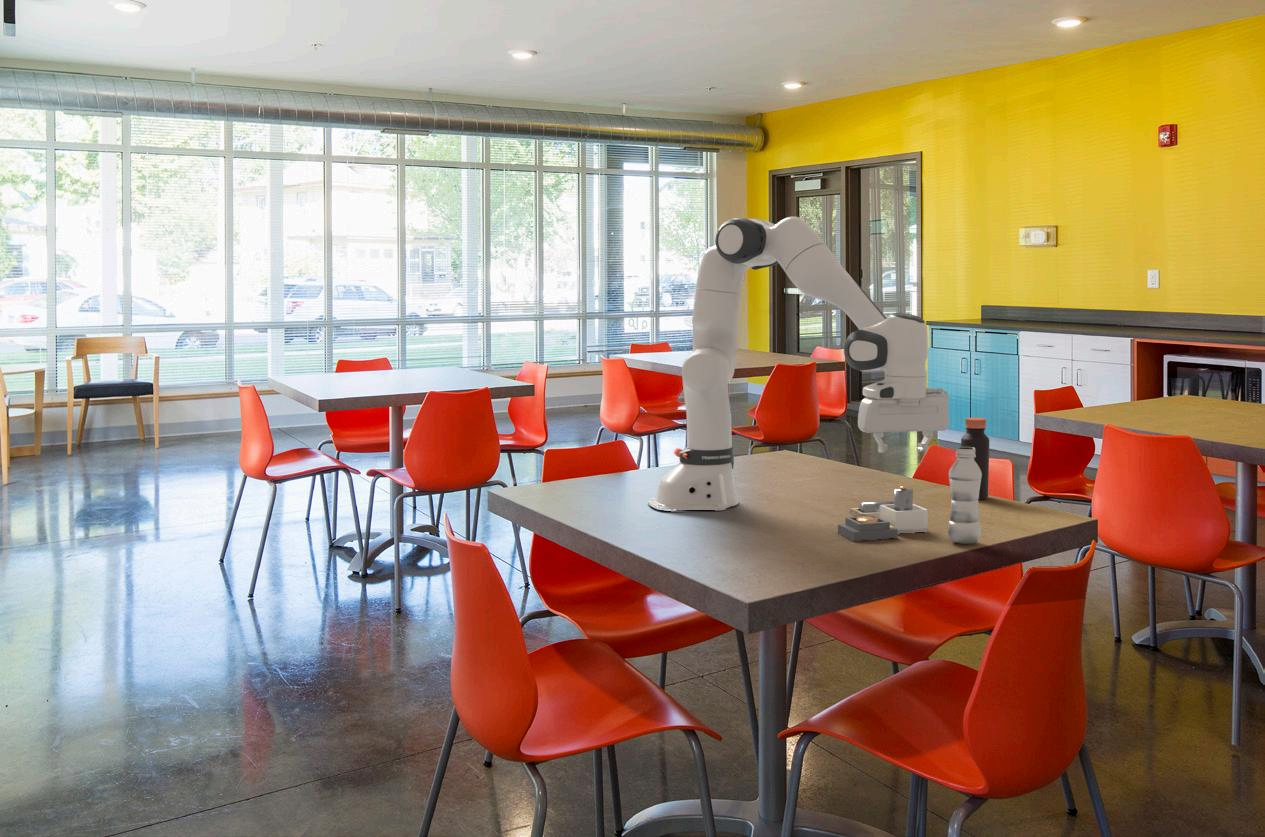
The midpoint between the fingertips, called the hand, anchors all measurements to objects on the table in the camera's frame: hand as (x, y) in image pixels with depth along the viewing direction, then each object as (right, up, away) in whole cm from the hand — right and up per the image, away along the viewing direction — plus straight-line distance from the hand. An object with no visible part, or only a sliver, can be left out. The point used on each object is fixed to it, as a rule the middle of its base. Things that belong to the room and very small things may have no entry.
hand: (902, 452), depth 231 cm
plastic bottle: (+10, -19, -11) cm, 24 cm away
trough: (-3, -16, +9) cm, 19 cm away
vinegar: (+27, -13, +36) cm, 47 cm away
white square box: (+1, -17, +2) cm, 17 cm away
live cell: (-3, -16, +9) cm, 19 cm away
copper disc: (-8, -15, -3) cm, 18 cm away
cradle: (-8, -18, -3) cm, 20 cm away
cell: (+1, -16, +2) cm, 16 cm away
